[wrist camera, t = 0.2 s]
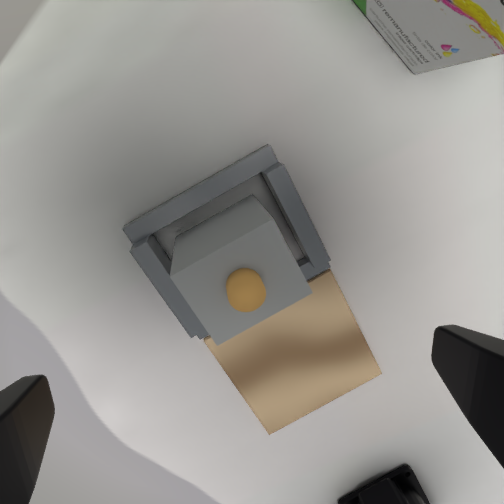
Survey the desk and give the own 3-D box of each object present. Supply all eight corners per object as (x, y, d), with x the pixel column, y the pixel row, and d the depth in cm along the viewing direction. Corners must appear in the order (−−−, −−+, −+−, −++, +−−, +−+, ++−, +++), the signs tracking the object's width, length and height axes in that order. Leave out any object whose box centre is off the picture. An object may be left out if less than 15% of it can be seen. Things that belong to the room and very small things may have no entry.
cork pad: (380, 370, 27) (382, 373, 26) (268, 431, 27) (269, 434, 27) (329, 268, 23) (331, 270, 23) (203, 338, 24) (203, 341, 23)
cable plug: (283, 251, 23) (319, 302, 16) (211, 291, 23) (218, 358, 16) (252, 194, 21) (278, 224, 15) (175, 237, 22) (168, 286, 15)
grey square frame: (326, 262, 23) (337, 274, 21) (199, 332, 24) (200, 350, 22) (267, 144, 21) (275, 146, 19) (124, 225, 21) (118, 235, 19)
